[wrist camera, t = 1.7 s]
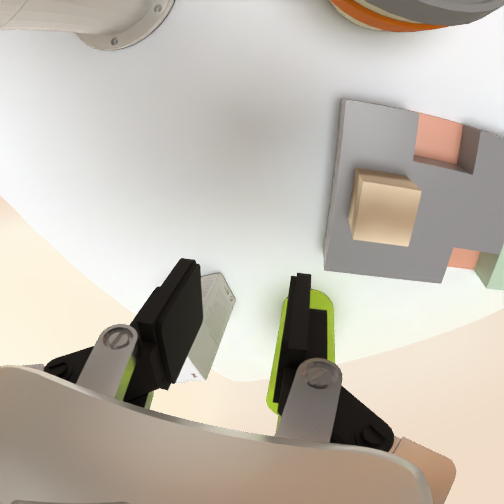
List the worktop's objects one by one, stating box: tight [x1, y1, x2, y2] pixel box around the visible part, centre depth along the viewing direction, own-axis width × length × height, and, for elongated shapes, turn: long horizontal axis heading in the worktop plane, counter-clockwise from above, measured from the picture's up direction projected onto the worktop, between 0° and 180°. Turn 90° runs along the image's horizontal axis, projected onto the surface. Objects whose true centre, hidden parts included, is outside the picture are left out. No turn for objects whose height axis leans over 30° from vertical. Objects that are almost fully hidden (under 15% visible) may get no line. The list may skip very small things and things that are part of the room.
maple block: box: [348, 168, 422, 247], centre depth 23 cm, size 4×4×4 cm
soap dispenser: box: [266, 290, 335, 431], centre depth 28 cm, size 6×7×20 cm
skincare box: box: [176, 273, 235, 383], centre depth 32 cm, size 6×4×12 cm
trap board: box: [323, 99, 504, 290], centre depth 25 cm, size 15×24×4 cm, turn 88°
